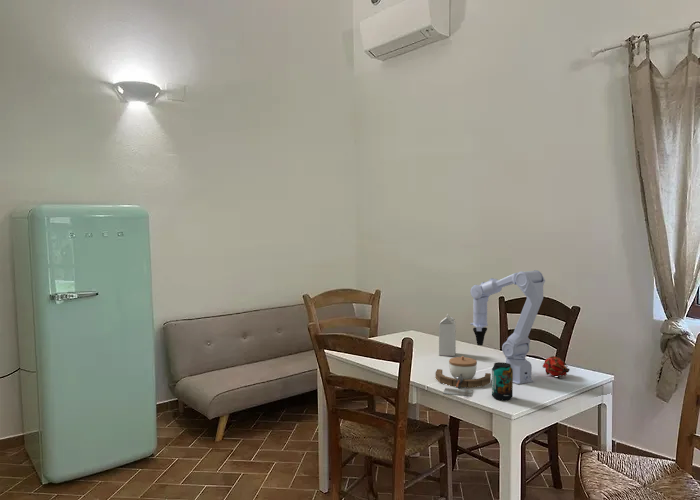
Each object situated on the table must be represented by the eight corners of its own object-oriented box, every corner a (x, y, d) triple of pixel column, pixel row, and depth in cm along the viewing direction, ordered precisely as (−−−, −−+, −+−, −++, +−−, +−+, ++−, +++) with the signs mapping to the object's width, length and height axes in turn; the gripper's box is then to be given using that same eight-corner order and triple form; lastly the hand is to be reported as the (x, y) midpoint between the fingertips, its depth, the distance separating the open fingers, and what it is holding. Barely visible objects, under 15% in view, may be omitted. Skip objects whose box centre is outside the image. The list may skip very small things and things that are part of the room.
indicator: (458, 377, 202) (458, 372, 202) (464, 377, 201) (464, 372, 201) (453, 388, 188) (453, 383, 188) (460, 389, 187) (460, 383, 187)
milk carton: (438, 355, 244) (438, 315, 243) (440, 352, 251) (440, 312, 250) (454, 356, 242) (454, 316, 241) (455, 353, 249) (455, 313, 248)
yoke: (437, 375, 213) (437, 369, 213) (490, 379, 206) (490, 373, 206) (428, 392, 191) (428, 385, 191) (487, 397, 185) (487, 390, 185)
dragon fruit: (546, 375, 217) (565, 387, 206) (533, 365, 215) (552, 377, 203) (558, 358, 218) (578, 370, 206) (545, 348, 215) (565, 359, 203)
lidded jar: (477, 377, 210) (477, 353, 210) (476, 384, 200) (476, 360, 199) (450, 375, 213) (450, 352, 213) (447, 382, 203) (447, 358, 202)
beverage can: (511, 402, 180) (511, 367, 179) (490, 399, 183) (491, 366, 182) (513, 396, 187) (513, 362, 186) (493, 393, 189) (493, 361, 189)
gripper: (471, 309, 228) (471, 340, 229) (469, 315, 214) (468, 348, 215) (488, 310, 226) (488, 341, 226) (486, 316, 212) (486, 349, 213)
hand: (480, 345), depth 220 cm, fingers closed
